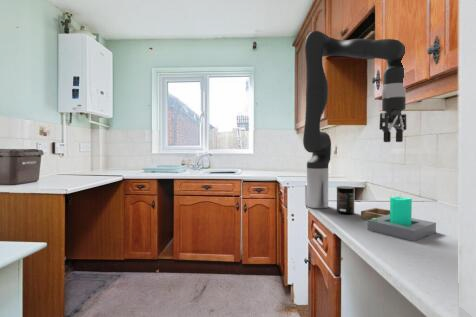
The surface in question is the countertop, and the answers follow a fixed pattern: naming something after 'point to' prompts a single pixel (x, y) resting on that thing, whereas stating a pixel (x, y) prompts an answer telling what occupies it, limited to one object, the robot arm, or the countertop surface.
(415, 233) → the frame
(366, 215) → the holder ring
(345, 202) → the supplement container
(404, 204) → the candle
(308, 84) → the robot arm
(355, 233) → the countertop surface
